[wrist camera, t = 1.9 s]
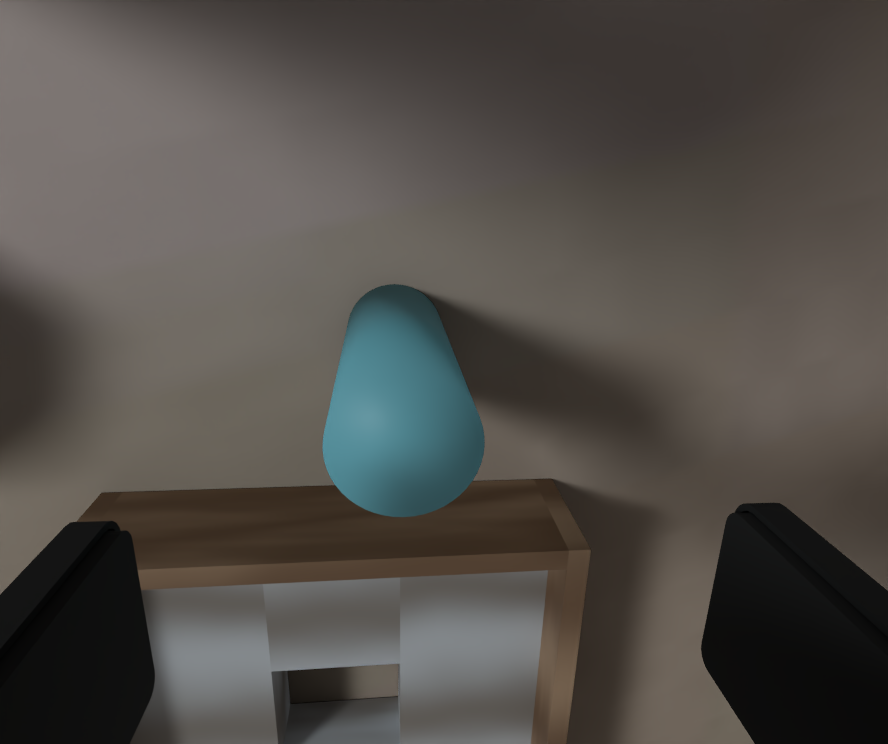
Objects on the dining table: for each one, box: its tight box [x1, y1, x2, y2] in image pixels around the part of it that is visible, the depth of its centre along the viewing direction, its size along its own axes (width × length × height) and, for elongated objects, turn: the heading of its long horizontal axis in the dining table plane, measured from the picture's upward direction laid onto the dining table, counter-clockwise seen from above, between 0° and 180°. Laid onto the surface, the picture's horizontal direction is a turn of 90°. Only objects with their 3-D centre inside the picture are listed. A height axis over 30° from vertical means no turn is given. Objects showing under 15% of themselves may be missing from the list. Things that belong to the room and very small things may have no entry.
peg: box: [323, 284, 484, 517], centre depth 18 cm, size 4×4×10 cm
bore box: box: [77, 479, 591, 744], centre depth 25 cm, size 19×19×5 cm
